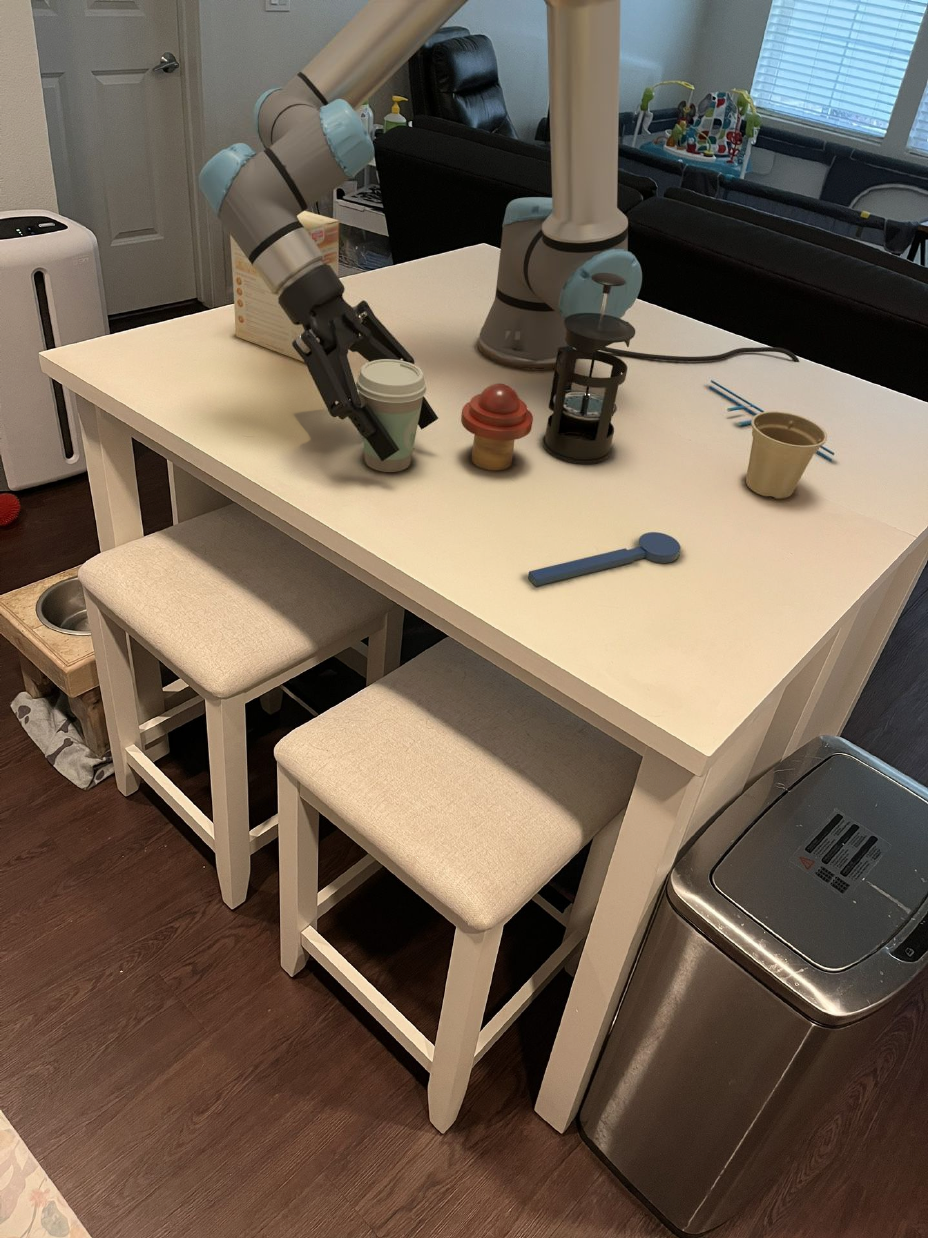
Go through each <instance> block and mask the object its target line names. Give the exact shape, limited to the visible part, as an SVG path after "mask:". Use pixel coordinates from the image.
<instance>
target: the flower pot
mask: <svg viewBox="0 0 928 1238" xmlns="http://www.w3.org/2000/svg"><path fill="white" fill-rule="evenodd" d="M756 414H757V415H753V417H752V418H751V419H750V420H751V424H750V425H751V428H752V430H751V436H752V440H751V447H750V453H749V459H748V460H749V461H748V464H747V465H748V466H747V471H746V476H745V482H746V486H747V488H749V490H751V491H752V492H754V493H756V494H757V495H760V496H762V497H773V498H774V499H785V498H788V497H790V496H791V495H793V493H794V491H795V489H796V488H797V486H798V483H799V482H800V480H801V478H802V476H803V474H804V473H805V471H806V470H807V467H808V466H809V464H810V462H811V460H812V458H813V456H814V455H815V454H817V453H816V452H817V451H819V449H821V448H820V446H824V445H825V443H826V442H827V441H828V433H827V431H826V430H825V429H824V428H823V427H822V426H821V425H819V424H818V423H816V422H814V421H813V420H811V419H809V418H806V417H804V416H802V415H798V414H795V413H791V412H787V411H786V412H785V411H780V410H779V411H778V410H768V411H765V412H759V413H756Z"/></svg>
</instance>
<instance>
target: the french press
mask: <svg viewBox="0 0 928 1238" xmlns="http://www.w3.org/2000/svg"><path fill="white" fill-rule="evenodd" d="M591 278H592V280H593V281H595V282H596V283H599V284H602V285H603V293H604V299H603V304H602V309H601V314H599V313H577V314H573V315H570V316H568V317H566V318H565V320H564V327H565V328H566V335H565V341H566V342H567V344H568V345H570V346H571V347H570V346H565V347H559V348H558V352H557V358H556V364H555V368H554V371H553V377H552V383H551V389H550V394H549V402H548V409H549V410H550V411H551V412H552V413H551V414H550V415H549V416H548V418H547V423H546V429H545V434H544V435H543V437H542V447H543V448H544V450H545V451H546V452H547V453H548V454H550V455H551V456H552V457H555V458H556V459H558V460H560V461H561V460H562V461H564V462H567V463H571V464H578V465H594V464H599V463H601V462H604V461H607V460H608V459H609V458H610V457H611V454H612V451H613V449H612V443H613V439H614V434H615V427H614V424H613V423H612V418H613V416H614V415H615V414H616V412H617V411H618V407H617V404H616V400H617V394H618V391H619V386H621V385H622V384H623V383H625V381H626V378H627V373H628V365H627V364H626V362H625V361H624V360H622V359H621V358H620V357H617V356H616V355H614V354H612V353H609V352H604V351H600V350H601V349H602V348H604V347H608V346H611V345H612V344H616V343H625V345H626V347H627V348H629V346H630V343H631V342H630V341H631V340H632V339H633V338H634V337H635V335H636V328H635V327H634V326H633V324H631V323H629V322H628V321H627V320H624V319H622V318H620V319H619V318H617V317H613V316H610V315H605V314H604V309H605V304H606V299H607V294H610V290H611V286H622V285H624V284H625V283H626V280H625V279H624V278H622V277H620V276H618V275H615V274H611V273H596V274H594V275H592V277H591ZM572 347H573V348H572ZM578 360H588V361H591V362H590V367H589V374H588V375H584V374H580V373H578V372H575V371H576V366H577V361H578ZM595 362H599V363H604V364H606V365H608V366H611V371H610V376H609V377H595V376H593V372H594V368H595V367H594V366H595ZM573 384H575V385H578V386H581V387H586V389H572V388H573ZM590 388H593V389H604V393H603V394H601V393H599V392H595V391H591V390H590ZM564 434H578V435H581V436H587V437H589V438H591V439H592V440H591V439H579V438H575V437H570V436H567V435H564Z"/></svg>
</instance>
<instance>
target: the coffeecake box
mask: <svg viewBox="0 0 928 1238" xmlns="http://www.w3.org/2000/svg"><path fill="white" fill-rule="evenodd" d="M297 218H298V219H299V221H300V222H301V224H302V225H303V227H304V228H305V229H306V231H307V232H308V233H309V235H310V236H311V238H312V239H313V241H314V242H315V243H316V245H317V246H318V248H319V249H320V251H321V252H322V253H323V255H324V260H323V262H322V263H323V264H327V265H330V266H331V268H332V269H333V271H334V272H335V273H336V275H337V276H338V277H339V250H340V249H339V248H340V247H339V246H340V245H339V243H340V241H339V240H340V239H339V237H340V220H338V219H335V218H331V217H328V216H326V215H325V216H324V215H321V214H317V213H315V212H311V211H307V210H305V211H303V212H302V213H300V214H299V215H297ZM229 238H230V239H229V240H230V241H229V242H230V255H231V258H230V259H231V270H232V273H231V274H232V287H233V288H232V290H233V291H232V292H233V308H234V324H235V325H234V326H235V337H236V338H239V339H242V340H244V341H248V342H250V343H253V344H255V345H257V346H260V347H263V348H265V349H268V350H271V351H274V352H277V353H279V354H282V355H284V356H287V357H289V358H292V359H294V360H297V361H300V362H303V363H305V362H304V360H303V359H302V357H301V356H300V355H299V354H298V352H297V351H296V350H295V349H294V347H293V345H292V342H293V341H294V340H295V339H296V338H298V337H299V336H300V335H301V334H302V333H303V332H305V331H304V328H303V326H302V324H301V325H295V324H293V323H292V322H291V320H290V319H289V317H288V316H287V314H286V313H285V312H284V310H283V309H282V307H281V306H280V304H279V303H278V301H279V300H278V298H279V296H280V295H279V294H278V295H277V294H272V292H271V291H270V289H269V288H268V286H267V285H266V283H265V282H264V280H263V279H262V278H261V276H260V275H259V273H258V272H257V270H256V269H255V267H254V266H253V265H252V264H251V262H250V261H249V260H248V258H247V257H246V255H245V254H244V253H243V251H242V250H241V249H240V247H239V246H238V244H237V243H236V242H235V240H234V239H233V237H232V236H231V235H230V234H229Z"/></svg>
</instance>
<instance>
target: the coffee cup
mask: <svg viewBox="0 0 928 1238" xmlns="http://www.w3.org/2000/svg"><path fill="white" fill-rule="evenodd" d="M401 360H402V359H400V360H393V359H381V360H375V361H371V362H369V361H367V362H366V363H364V364H363V365H362V366H361V368H360V371H359V374H358V375H357V377H356V381H355V384H356V387H357V390H358V394H359V397H360V400H361V404H362V405H361V407H363V406H364V405H366V404H367V403H368V405H369V406H370V407H371V409H372V410H373V412H374V413H375V415H376V416H377V417H378V419H379V420H380V422H381V423H382V425H383V426H384V428H385V429H386V430H387V432H388V433H389V435H390V436H391V438H392V439H393V440H394V442H395V443H396V445H397V446H398V448H399V449H400V450H398V451H397V452H396V453H394V454H393V455H391V456H390V457H388V458H387V459H385V460H384V461H381V459H380V458H379V457H378V455H377V454H376V452H375V451H374V449H373V448H372V447H371V445H370V444H369V442H368V441H367V440H366V438H363V437H362V446H363V447H362V448H363V455H364V456H363V457H364V458H363V459H364V462H365V464H366V465H367V466H368V467H369V468H371V469H373V470H376V471H378V472H384V473H396V472H397V473H398V472H401V471H404V470H405V469H407V468H408V467H409V466H410V465H411V461H412V457H413V451H414V447H415V441H416V437H417V432H418V427H419V425H418V421H419V416H420V411H421V406H422V400H423V396H424V397H425V395H426V394H427V391H428V388H427V381H426V379H425V376H424V375H425V374H424V371H423V370H422V369H421V368H420V367H419V366H417V365H415V363H414V364H411V363H409V362H405V361H401Z"/></svg>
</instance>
